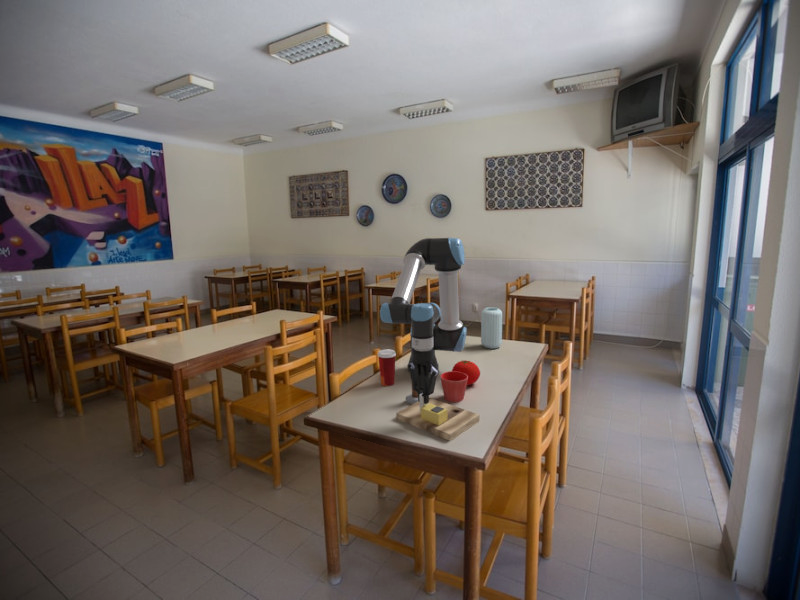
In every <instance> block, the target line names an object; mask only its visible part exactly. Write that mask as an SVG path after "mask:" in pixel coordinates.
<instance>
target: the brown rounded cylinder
mask: <svg viewBox="0 0 800 600" xmlns="http://www.w3.org/2000/svg"><path fill="white" fill-rule="evenodd" d="M416 387H417V386H416ZM411 394H412V397H414V398H418V393H417V391H414V390H413V385H412V384H411Z"/></svg>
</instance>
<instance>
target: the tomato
mask: <svg viewBox="0 0 800 600" xmlns="http://www.w3.org/2000/svg"><path fill="white" fill-rule="evenodd" d="M451 369H452V370H451V371H457V372H462V373H464V374H466V375H467V376H468V380H467V385H466V386H470V385H473V384H475V383H476V382H477V381H478V380H479V378H480V376H481V370H480V368H479V366H478V364H476V362H475V363H474V362H473V361H471V360H463V359H461V361H458V362H456V363H455V364H454V365H453V367H452V368H451Z"/></svg>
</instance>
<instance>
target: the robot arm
mask: <svg viewBox="0 0 800 600" xmlns="http://www.w3.org/2000/svg"><path fill="white" fill-rule="evenodd" d="M465 255H466V254H465V247H464V244H463V242H462V240H461V239H460V238H458V237H455V238H454V237H435V238H434V237H433V238H431V237H427V238H423V239H420V240H418V241H417V242H415V243H414V244H413V245H411V247H409V249H407V251H406V252H405V255H404V256H403V259H402V260H403V262H402V263H403V266H402V269H401V272H400V274H399V278H398V279H397V282H396V285H395V288H394V291H393V293H392V296H391V298H390V301H389V302H384V303H382V304H381V306H380V310H379V317H380V320H381V322H383V323H386V324H388V323H389V324H400V325H402V324H403V325H406V324H407V325H411V327H410V333H409V335H410V356H409V360H408V363H407V371H408V372H409V374H410V379H411V386H412V385H413V390H414V391H417V393H418V401H419V402H420V412H421V407H423V406H425V405H427V404H428V403H429V398H430V396H431V395H433V394H434V393H435V387H436V383H437V380H438V379H437V378H438V375H439V374H440V369H439V368H440V366H439V362H438V360H437V357H436V353H435V352H436V351H439V352H440V351H444V352H452V353H454V352H462V351H464V347H465V344H466V338H467V332H468V331H467V327H466V326H464V323H463V322H462V321H461V320H460V301H459V299H460V298H459V295H460V294H459V271H460V270H462V266H463V265H464V264H465ZM425 266H434V270H435V271H436V272H437V274H438V286H439V287H438V288H439V289H438V290H439V291H438V292H439V305H438V304H437V303H434V302H425V303H424V302H423V303H422V302H420V303H411V301H412V298H413V296H414V293H415V289H416V287H417V283H418V280H419V277H420V274H421V271H422V270H424V268H425ZM439 320H440V321H439ZM437 322H438V324H437V325H436V323H437ZM416 386H417V387H416Z"/></svg>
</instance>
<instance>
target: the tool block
mask: <svg viewBox="0 0 800 600" xmlns="http://www.w3.org/2000/svg"><path fill="white" fill-rule="evenodd" d="M405 402H406V403H409V404H411V405H413V404H415V403H416V402H418V398H414V397H412V393H410V394H408V395H405Z"/></svg>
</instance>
